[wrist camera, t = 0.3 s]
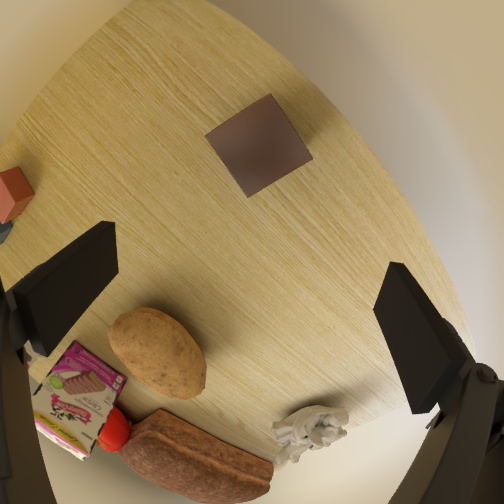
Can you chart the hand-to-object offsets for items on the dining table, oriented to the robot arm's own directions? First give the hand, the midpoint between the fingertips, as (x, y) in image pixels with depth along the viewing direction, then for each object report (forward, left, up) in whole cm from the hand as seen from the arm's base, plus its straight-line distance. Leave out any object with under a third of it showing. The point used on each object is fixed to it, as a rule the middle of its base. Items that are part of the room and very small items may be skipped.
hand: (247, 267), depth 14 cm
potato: (+20, -10, -17) cm, 28 cm away
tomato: (+44, -25, -17) cm, 54 cm away
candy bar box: (+31, -24, -17) cm, 43 cm away
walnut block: (-5, -1, -17) cm, 18 cm away
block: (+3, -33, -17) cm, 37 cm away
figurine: (+34, +12, -17) cm, 40 cm away
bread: (+53, -6, -17) cm, 56 cm away
